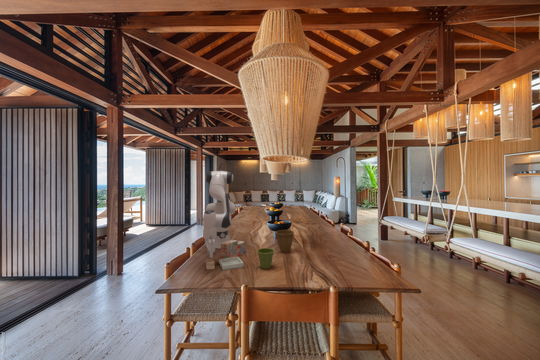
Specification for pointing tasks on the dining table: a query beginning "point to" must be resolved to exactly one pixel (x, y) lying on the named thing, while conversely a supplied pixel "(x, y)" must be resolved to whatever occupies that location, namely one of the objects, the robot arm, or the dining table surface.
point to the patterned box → (232, 249)
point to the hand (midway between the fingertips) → (210, 255)
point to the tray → (231, 263)
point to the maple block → (210, 264)
